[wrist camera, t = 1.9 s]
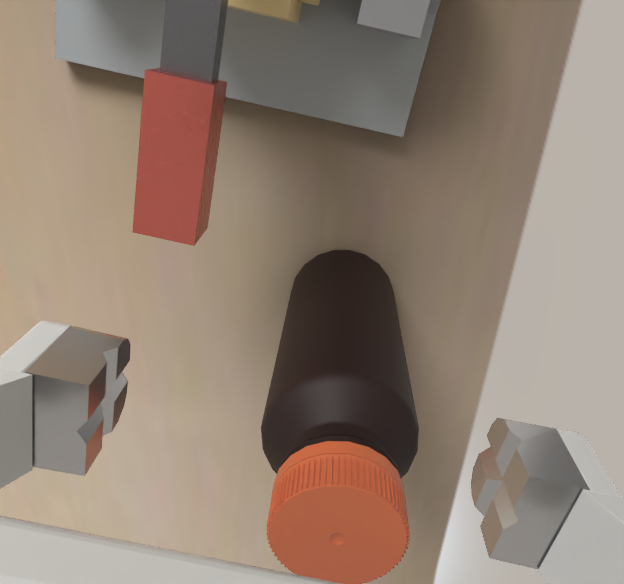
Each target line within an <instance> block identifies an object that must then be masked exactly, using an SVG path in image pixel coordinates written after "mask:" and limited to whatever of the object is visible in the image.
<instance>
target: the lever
mask: <svg viewBox="0 0 624 584" xmlns="http://www.w3.org/2000/svg"><path fill="white" fill-rule="evenodd" d="M227 7H228V0H166V3H165V15H164V26H163V38H162V50H161V61H160V68H155V69H147V70H145V75H144V88H143V101H142V114H141V128H140V141H139V154H138V167H137V180H136V194H135V207H134V220H133V232H134V233H138V234H143V235H148V236H152V237H157V238H161V239H166V240H171V241H175V242H180V243H184V244H189V245H195V244H196V243H197V241H198V240H199V239H200V237H201V236H202V235H203V233H204V232H205V231H206V229H207V228H208V220H209V213H210V206H211V198H212V191H213V184H214V176H215V169H216V161H217V154H218V147H219V139H220V132H221V125H222V117H223V110H224V103H225V95H226V88H227V81H223V80H218V77H219V69H220V61H221V54H222V46H223V38H224V30H225V23H226V15H227Z"/></svg>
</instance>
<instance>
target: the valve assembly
mask: <svg viewBox="0 0 624 584" xmlns="http://www.w3.org/2000/svg"><path fill="white" fill-rule="evenodd" d="M440 2H441V0H228V7H227V15H226V23H225V30H224V38H223V46H222V54H221V61H220V69H219V77H218V80H223V81H227V88H226V95H225V97H228V98H232V99H237V100H241V101H246V102H250V103H254V104H259V105H263V106H268V107H272V108H276V109H281V110H285V111H290V112H294V113H298V114H303V115H307V116H312V117H316V118H320V119H325V120H329V121H334V122H338V123H342V124H347V125H351V126H356V127H360V128H365V129H369V130H373V131H378V132H382V133H387V134H391V135H395V136H400V137H403V135H404V132H405V128H406V124H407V121H408V117H409V113H410V110H411V106H412V102H413V99H414V95H415V91H416V88H417V84H418V80H419V77H420V73H421V69H422V66H423V62H424V58H425V55H426V51H427V48H428V44H429V40H430V37H431V33H432V29H433V26H434V22H435V18H436V15H437V11H438V7H439V4H440ZM165 3H166V0H56V24H55V58H56V59H61V60H65V61H70V62H74V63H78V64H83V65H87V66H92V67H96V68H100V69H105V70H109V71H114V72H118V73H122V74H127V75H131V76H136V77H140V78H144V75H145V70H147V69H155V68H160V61H161V50H162V38H163V26H164V15H165Z"/></svg>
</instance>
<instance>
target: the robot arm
mask: <svg viewBox="0 0 624 584" xmlns="http://www.w3.org/2000/svg"><path fill="white" fill-rule="evenodd" d="M129 360H130V342H129V340H128V339H127V338H122V337H118V336H114V335H110V334H105V333H101V332H97V331H92V330H88V329H84V328H79V327H75V326H74V327H73V326H71V325H67V324H62V323H57V322H52V321H47V320H46V321H40V322H38V323H37V324H36V325H35V326H34V327H33V328H32V329H30V330H29V331H28V332H27V333H26V334H25V335H24V336H23V337H21V338H20V339H19V340H18V341H17V342H16V343H15V344H14V345H12V346H11V347H10V348H9V349H8V350H7V351H6V352H5V353H3V354H2V355H1V356H0V489H1V488H2V487H4V486H6V485H7V484H9V483H11V482H12V481H14V480H16V479H17V478H19V477H21V476H23V475H24V474H26V473H28V472H29V471H31V470H32V467H36V468H42V469H48V470H53V471H59V472H65V473H71V474H77V475H82V476H85V475H86V473H87V471H88V470H89V468H90V467H91V465H92V463H93V462H94V460H95V458H96V457H97V455H98V454H99V452H100V450H101V449H102V436H104V435H106V434H108V433H110V432H112V431H113V429H114V427H115V425H116V424H117V422H118V420H119V417H120V415H121V412H122V409H123V407H124V403H125V398H126V393H127V384H128V380H127V379H126V377H125V376H124V374H123V373H122V371H123V369H124V368H125V366H126V365H127V363H128V362H129ZM487 437H488V440H489V442H490V445H491V447H490V448H488V449H486V450H485V451H483V452H482V453H480V454H479V455H478V458H477V460H476V463H475V465H474V468H473V474H472V481H471V489H472V497H473V501H474V505H475V507H476V508H477V509H478V510H479V511H480V512H481V513H482V514H483V515H484V516H485V517H484V519H483V521H482V524H481V530H482V534H483V537H484V541H485V544H486V548H487V551H488V555H489V558H492V559H496V560H500V561H505V562H509V563H514V564H518V565H523V566H527V567H531V568H535V569H538V573H539V574H540V575H541V576H542V578H543V579H544V580H545V581H546V582H547V584H624V498H623V497H622V496H621V495H620V493H619V491H618V490H617V488H616V487H615V485H614V483H613V482H612V480H611V478H610V477H609V475H608V474H607V472H606V470H605V469H604V467H603V465H602V464H601V462H600V461H599V459H598V457H597V456H596V454H595V453H594V451H593V449H592V448H591V446H590V444H589V443H588V441H587V440H586V438H585V437H584V436H583V435H581V434H580V433H578V432H573V431H568V430H562V429H556V428H548V427H543V426H538V425H532V424H527V423H522V422H517V421H512V420H506V419H501V418H497V419H496V420H495V421H494V423H493V424H492V426H491V428H490V430H489V432H488V434H487ZM0 584H341V583H336V582H331V581H326V580H321V579H316V578H311V577H306V576H300V575H295V574H290V573H285V572H280V571H275V570H270V569H265V568H260V567H255V566H250V565H245V564H240V563H235V562H230V561H225V560H220V559H215V558H210V557H205V556H200V555H195V554H190V553H185V552H180V551H175V550H170V549H165V548H160V547H155V546H150V545H145V544H140V543H134V542H129V541H124V540H119V539H114V538H109V537H104V536H99V535H94V534H89V533H84V532H79V531H74V530H69V529H64V528H59V527H54V526H49V525H44V524H39V523H34V522H29V521H24V520H19V519H14V518H9V517H4V516H0Z"/></svg>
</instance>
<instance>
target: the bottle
mask: <svg viewBox="0 0 624 584" xmlns="http://www.w3.org/2000/svg"><path fill="white" fill-rule="evenodd" d="M418 432H419V427H418V422H417V417H416V411H415V406H414V401H413V395H412V390H411V385H410V379H409V374H408V369H407V363H406V358H405V352H404V347H403V342H402V336H401V331H400V326H399V320H398V315H397V310H396V304H395V299H394V294H393V289H392V286H391V283H390V280H389V277H388V275H387V274H386V273H385V271H384V270H383V269H382V268H381V266H380V265H379V264H378V263H376V262H375V261H374V260H372V259H371V258H369V257H368V256H366V255H364V254H361V253H357V252H354V251H351V250H333V251H330V252H327V253H324V254H320V255H318V256H316V257H315V258H314V259H312V260H311V261H309V262H308V263H306V264H305V265H304V266H303V268H302V269H301V270H300V272H299V273H298V275H297V276H296V278H295V281H294V284H293V288H292V291H291V295H290V300H289V304H288V309H287V313H286V318H285V322H284V327H283V331H282V336H281V340H280V345H279V349H278V353H277V358H276V362H275V367H274V371H273V376H272V380H271V385H270V389H269V394H268V398H267V403H266V407H265V412H264V416H263V421H262V425H261V433H262V444H263V450H264V453H265V455H266V457H267V459H268V461H269V463H270V465H271V467H272V469H273V470H274V471H275V472H276V473H277V476H276V479H275V482H274V486H273V492H272V498H271V505H270V511H269V517H268V523H267V535H268V537H267V539H269V542H268V543H269V544H270V548H272V552H275V556H277V558H278V559H277V560H279V561H281V564H284V565H285V567H287V568H288V569H289V570H290V571H291V572H293V573H295V574H297V575H300V576H306V577H311V578H316V579H321V580H326V581H331V582H336V583H341V584H361V583H367V582H370V581H372V580H374V579H377V578H378V577H382V576H383V575H385V574H386V573H387V572H388V571H390V570H391V569H392V568H394V566H395V565H398V562H399V561H401V557H404V555H403V553H406V550H405V549H408V548H407V545H408V544H409V543H408V540H409V527H408V519H407V511H406V503H405V494H404V486H403V483H402V481H401V478H402V477H403V476H404V475H405V474H406V473H407V472H408V470H409V468H410V466H411V464H412V462H413V459H414V457H415V455H416V453H417V449H418Z"/></svg>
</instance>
